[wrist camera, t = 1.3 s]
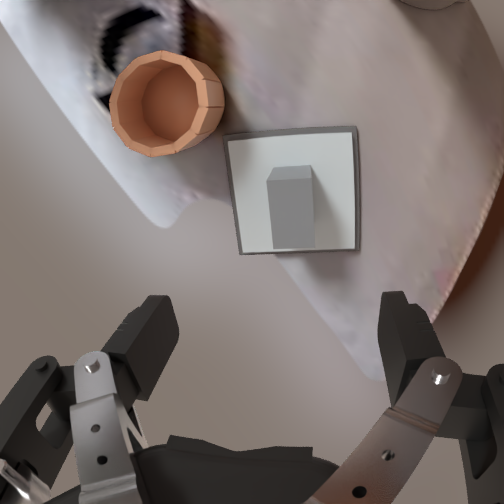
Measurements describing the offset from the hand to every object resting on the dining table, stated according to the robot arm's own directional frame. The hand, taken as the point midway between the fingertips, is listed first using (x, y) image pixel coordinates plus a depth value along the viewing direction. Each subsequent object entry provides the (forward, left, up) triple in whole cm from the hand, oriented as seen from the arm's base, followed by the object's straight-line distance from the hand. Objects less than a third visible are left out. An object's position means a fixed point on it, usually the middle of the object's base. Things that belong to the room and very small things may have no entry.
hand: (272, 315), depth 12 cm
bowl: (+9, -9, -17) cm, 22 cm away
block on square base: (0, 0, -17) cm, 17 cm away
